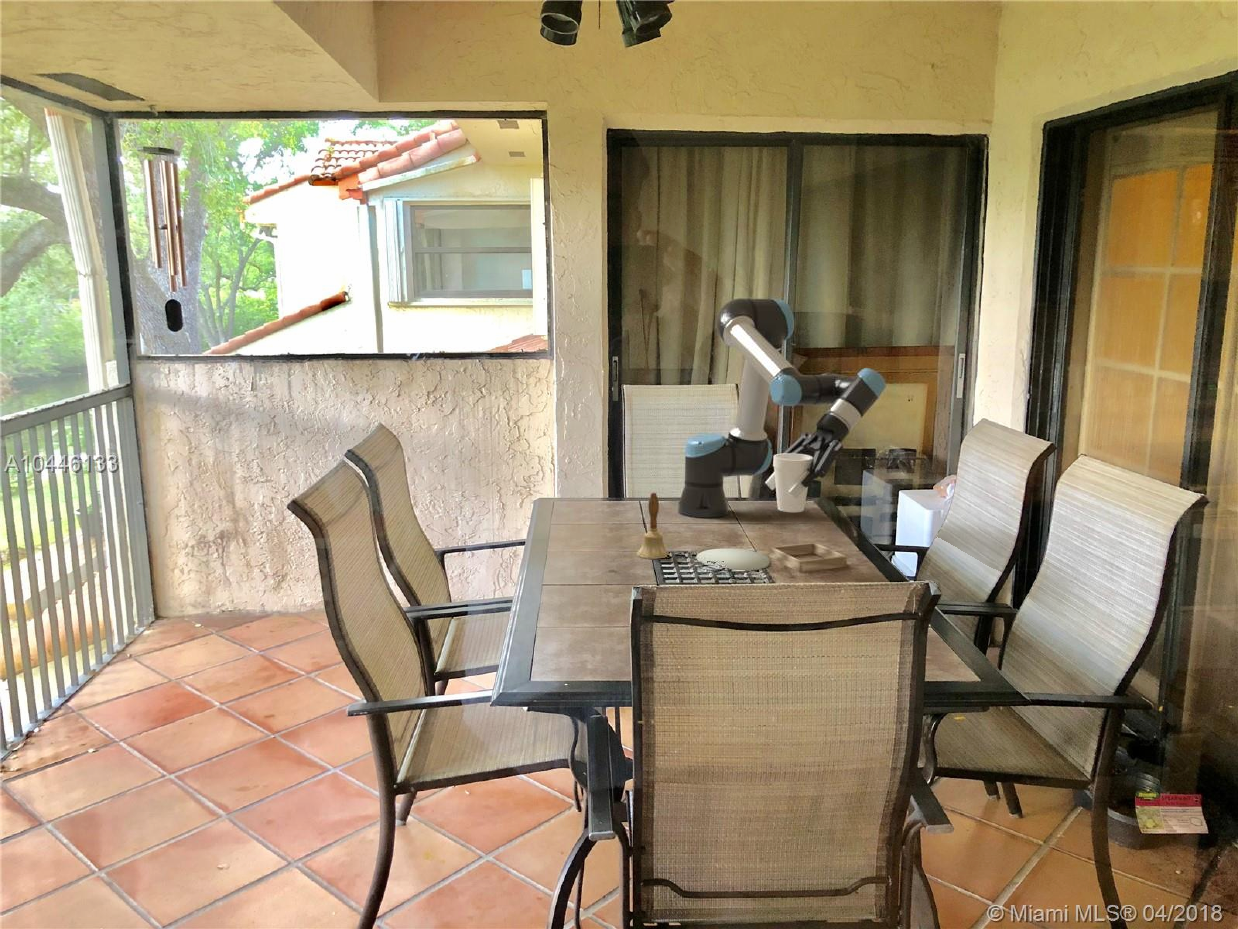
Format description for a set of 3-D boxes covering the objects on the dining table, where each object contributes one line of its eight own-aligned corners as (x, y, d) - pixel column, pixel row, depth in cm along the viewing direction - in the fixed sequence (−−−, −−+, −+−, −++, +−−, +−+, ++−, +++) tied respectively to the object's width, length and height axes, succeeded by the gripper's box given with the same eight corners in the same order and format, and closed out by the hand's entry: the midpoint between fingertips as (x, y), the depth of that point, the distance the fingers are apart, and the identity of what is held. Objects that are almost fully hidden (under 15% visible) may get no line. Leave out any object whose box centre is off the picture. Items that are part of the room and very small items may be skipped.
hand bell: (659, 561, 222) (660, 498, 219) (630, 556, 226) (631, 493, 224) (675, 554, 229) (677, 492, 226) (647, 548, 233) (648, 488, 231)
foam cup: (810, 514, 216) (813, 461, 213) (771, 512, 217) (773, 459, 215) (809, 505, 225) (812, 454, 222) (771, 503, 226) (773, 452, 224)
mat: (681, 559, 225) (681, 556, 225) (729, 546, 236) (729, 544, 236) (736, 576, 211) (736, 573, 211) (784, 562, 223) (784, 560, 223)
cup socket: (768, 556, 228) (769, 547, 227) (814, 551, 233) (814, 542, 233) (799, 572, 216) (799, 562, 215) (846, 566, 221) (847, 556, 220)
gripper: (875, 439, 214) (816, 510, 211) (818, 425, 234) (764, 491, 230) (858, 418, 211) (798, 490, 207) (802, 406, 230) (747, 472, 227)
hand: (780, 490), depth 219 cm, fingers closed on foam cup, 9 cm apart
